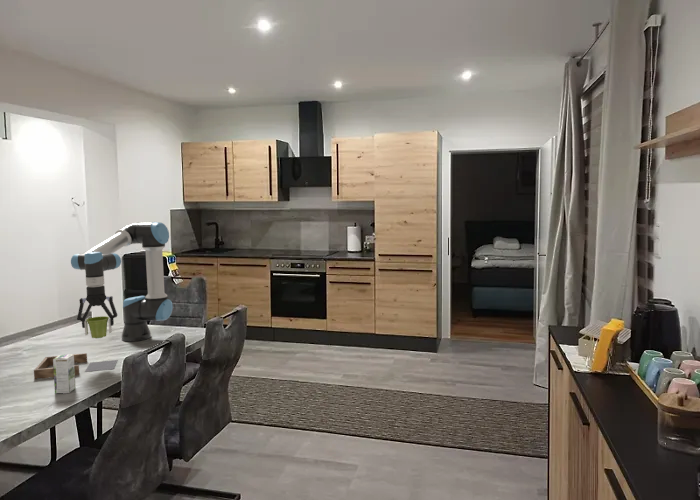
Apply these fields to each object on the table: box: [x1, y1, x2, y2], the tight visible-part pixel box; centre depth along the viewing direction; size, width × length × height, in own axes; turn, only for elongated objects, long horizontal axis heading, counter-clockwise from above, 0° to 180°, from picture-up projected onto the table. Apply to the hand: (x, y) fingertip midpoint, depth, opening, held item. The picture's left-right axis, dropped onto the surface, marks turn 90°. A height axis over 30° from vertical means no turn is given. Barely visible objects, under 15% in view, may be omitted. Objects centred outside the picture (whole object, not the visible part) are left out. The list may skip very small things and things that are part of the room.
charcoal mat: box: [84, 359, 118, 373], centre depth 243 cm, size 12×14×1 cm
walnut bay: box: [33, 353, 88, 380], centre depth 238 cm, size 17×20×4 cm
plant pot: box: [85, 315, 109, 339], centre depth 241 cm, size 9×9×9 cm
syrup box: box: [52, 353, 76, 395], centre depth 210 cm, size 6×6×14 cm
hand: (98, 333), depth 241 cm, fingers closed on plant pot, 9 cm apart
